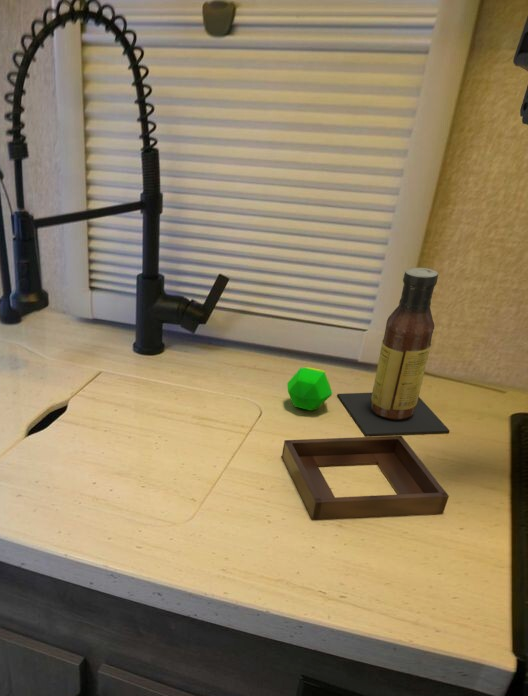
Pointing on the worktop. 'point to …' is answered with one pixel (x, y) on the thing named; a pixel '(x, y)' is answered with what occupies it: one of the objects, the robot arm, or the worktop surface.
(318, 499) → the picture frame
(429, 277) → the sauce bottle
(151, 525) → the worktop surface
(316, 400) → the green faceted block
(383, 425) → the rubber mat
